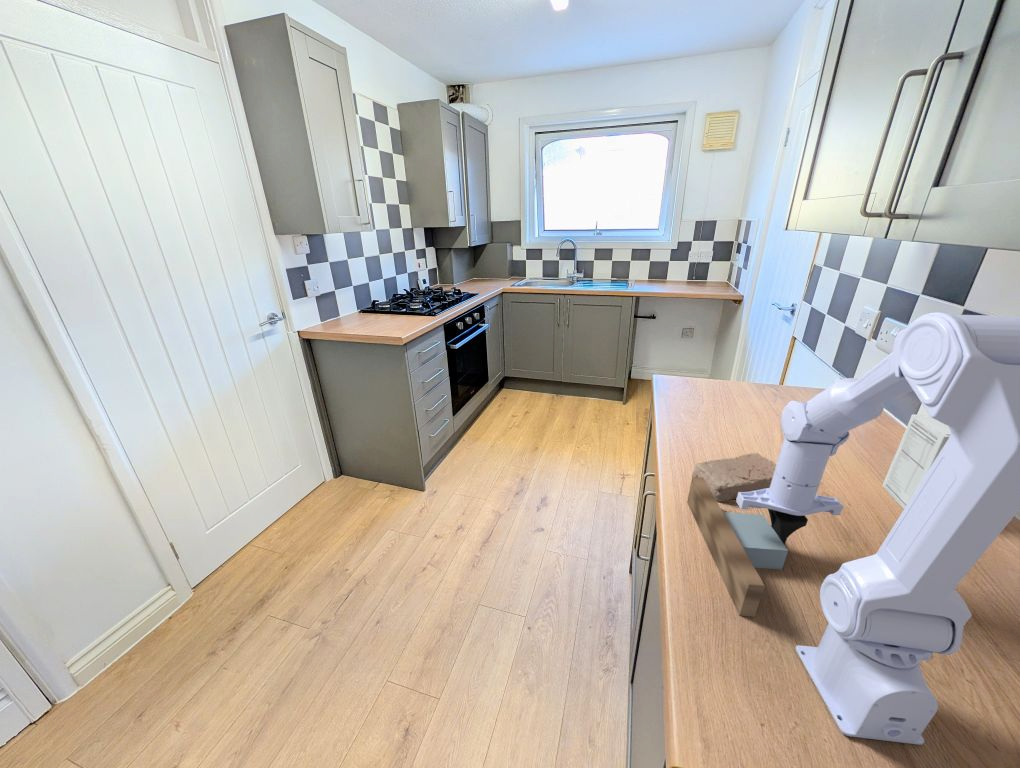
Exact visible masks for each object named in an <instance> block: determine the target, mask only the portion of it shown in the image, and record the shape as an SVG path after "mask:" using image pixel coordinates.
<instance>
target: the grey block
mask: <svg viewBox="0 0 1020 768" xmlns="http://www.w3.org/2000/svg"><path fill="white" fill-rule="evenodd" d="M722 512H723V513H724V515H725V517H726V519H727V520H728V522H729V524H730V526H731V527H732V529H733V531H734V533H735V534H736V536H737V538H738V540H739V542H740V543H741V545H742V547H743V549H744V550H745V552H746V554H747V556H748V557H749V559H750V561H751V563H752V564H753V566H754V568H755V569H756V568H758V569H759V568H760V569H770V570H781V571H782V569H783V568H784V564H785V562H786V558H787V555H788V554H789V553H788V552H789V550H788V548H787V547H786V544H785V545H784V544H783V542H782V541H781V539H780V538H779V536H778V535H777V534H776V532H775V531H774V529H773V528H772V526H771V525H772V524H770V522H769V521H768V519H767V518H766V517H765V515H764V514H756V513H743V512H742V513H739V512H724V511H722Z"/></svg>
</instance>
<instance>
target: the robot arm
mask: <svg viewBox="0 0 1020 768" xmlns="http://www.w3.org/2000/svg"><path fill="white" fill-rule="evenodd" d="M832 383H833V384H831V385H829V386H828V387H826V388H825V389H824V390H822V391H820V392H819V393H816V394H815V395H814V396H813V397H811V398H810V399H809V400H808V401H806V402H805V401H799V400H790V401H789V402H788V403H786V405H785V406H784V408H783V410H782V413H781V416H780V417H781V419H780V426H781V432H782V434H783V436H784V438H783V442H782V444H781V449H780V451H779V455H778V459H777V461H776V463H775V464H776V468H775V471H774V475H773V478H772V481H771V485H770V488H766V489H761V490H756V491H750V492H738V496H737V498H736V500H735V502H736V503H737V505H738V506H739V508H740V509H741V510H745V511H747V510H748V509H749V508H758V509H767V512H768V514H769V517H770V523H771V524H770V525H771V526H772V528H773V529H774V531H775V532H776V534H777V535H778V536H779V538H780V539H781V541H782V542H783V544H784V545H785V546H786V542H787V539H788V538H789V537H790V536H791V535H792V534H794V533H795V532H796V531H798V530H799V529H802V528H804V527H806V526H807V524H808V521H809V519H808V518H807V517H806V516H808V515H814V514H819V513H822V512H823V513H830V514H831V515H832V516H840V515H841V512H842V510H843V507H844V504H842V503H841V502H840V501H839V500H838V499H837V497H831V496H824V495H819V494H817V493H818V491H819V487H820V485H821V481H822V479H823V476H824V473H825V470H826V467H827V464H828V461H829V459H830V457H832V456H835V455H836V453H837V452H838V449H839V447H840V446H842V445H844V444H845V443H846V442H847V441H848V439H849V437H850V436H851V433H850V431H852V430H854V429H856V428H858V427H860V426H862V425H864V424H866V423H868V422H870V421H874V420H875V419H877V418H878V417H879V416H881V414H882V413H883V411H884V409H885V403H887V402H890V401H893V400H895V399H898V398H899V397H901V396H904V395H907V394H909V393H912V392H914V393H915V394H916V395H915V396H917V398H918V399H919V401H920V403H921V404H922V406H923V407H924V408H925V410H926V411H927V413H928V416H931V417H932V418H934V419H936V420H938V421H940V422H942V423H944V424H945V425H947V426H949V428H950V431H951V435H950V437H949V439H948V440H947V442H946V443H945V445H944V447H943V448H942V450H941V451H940V453H939V455H938V456H937V458H936V459H935V461H934V463H933V464H932V466H931V467H930V469H929V470H928V472H927V474H926V475H925V477H924V478H923V480H922V482H921V483H920V485H919V486H918V488H917V490H916V491H915V493H914V494H913V496H912V497H911V499H910V501H909V502H908V504H907V505H906V507H905V509H903V510H902V512H901V514H900V515H899V517H898V519H897V520H896V522H894V524H893V526H892V527H891V529H890V531H889V533H888V534H887V536H886V537H885V539H884V540H883V542H882V544H881V545H880V547H879V549H878V550H877V551H876V553H874V554H872V555H869V556H864V557H861V558H858V559H853V560H851V561H850V560H849V561H846V562H843V563H842V564H841V566H840V567H839V569H838V570H837V571H836V572H834V573H829V574H828V575H827V576H826V577H825V578H824V580H823V582H822V584H821V585H820V591H819V598H820V607H821V609H822V612H823V615H824V617H825V619H826V621H827V623H828V624H827V626H826V628H825V630H824V633H823V635H822V638H821V640H820V642H819V644H818V646H810V645H800V644H799V645H796V646H795V651H796V653H797V655H798V657H799V658H800V661H801V662H802V663H803V666H804V668H805V669H806V671H807V672H808V675H809V676H810V678H811V680H812V681H813V683H814V685H815V687H816V689H817V691H818V693H819V694H820V696H821V698H822V700H823V702H824V704H825V705H826V707H827V709H828V711H829V713H830V714H831V716H832V718H833V720H834V721H835V723H836V725H837V726H838V728H839V729H838V730H840V732H841V733H842V734H843V735H844V736H847V737H853V738H861V739H867V740H868V739H869V740H879V741H886V742H896V743H903V744H912V745H917V746H918V745H920V746H922V745H924V743H925V741H926V740H925V739H924V737H923V735H922V734H923V732H924V731H925V729H926V728H927V727H928V725H929V724H930V722H931V721H932V720H933V718H934V717H935V715H936V713H937V711H938V709H939V703H938V700H937V699H936V697H935V695H934V693H933V692H932V691H931V689H930V688H929V685H928V683H927V682H926V680H925V678H924V675H923V672H922V669H921V664H920V663H921V662H922V661H923V662H924V661H926V662H927V661H930V659H931V657H932V656H933V654H940V655H943V656H944V655H945V656H948V655H953V654H955V653H956V652H957V651H959V649H960V648H961V646H962V642H963V637H964V634H963V632H964V627H965V625H966V624H967V622H968V621H969V620H970V619H971V618H972V616H973V615H972V612H971V610H970V609H969V607H968V605H967V603H966V601H965V600H964V599H963V597H962V595H960V594H959V592H958V591H957V590H956V587H957V586H959V584H960V583H961V581H962V580H963V579H964V577H965V576H966V575H968V573H969V572H970V570H971V569H972V568H973V567H974V566H975V564H976V563H977V562H978V561H979V559H980V558H982V556H983V555H984V554H985V552H986V551H987V550H988V548H989V547H990V546H991V545H992V544H993V542H995V540H996V539H997V538H998V537H999V535H1000V534H1001V533H1002V532H1003V531H1004V529H1005V528H1006V527H1007V526H1008V524H1009V523H1010V522H1011V521H1012V520H1013V518H1014V517H1016V514H1017V513H1019V511H1020V315H990V314H989V315H988V314H987V315H986V314H985V315H984V314H983V315H982V314H981V315H979V314H953V313H949V312H948V313H947V312H942V311H941V312H940V311H937V312H936V311H935V312H930V313H929V312H928V313H925V314H924V315H921V316H919V317H917V318H916V319H915V320H913V321H912V322H911V323H910V324H909V325H908V326H907V327H906V328H904V329H902V330H900V331H898V332H897V334H896V336H895V339H894V342H893V347H892V352H890V353H889V354H888V355H887V356H885V357H884V358H883V359H882V360H880V361H879V362H878V363H877V364H875V365H874V366H873V367H872V368H870V369H869V370H867V371H866V372H864V374H863V375H861V376H860V377H859V378H855V377H837V378H836V379H835V380H833V381H832Z"/></svg>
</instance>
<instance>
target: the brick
mask: <svg viewBox="0 0 1020 768" xmlns="http://www.w3.org/2000/svg"><path fill="white" fill-rule="evenodd" d="M776 464H777V463H775V462H773V461H772V460H769V459H768V458H766V457H764V456H762V455H761V454H759V452H756V453H753V452H752V453H746V454H743V455H739V456H735V457H729V458H721V459H715V460H708V461H703V462H697V463H696V464H695V467H694V469H693V471H692V474H691V478H692V477H701V478H704V480H705V482H706V483H707V485H708V487H709V489H710V490H711V492H712V494H713V496H714V498H715V499H716V501H717V503H721V502H728V501H731V500H733V499H737V496H738V492H750V491H756V490H761V489H766V488H770V485H771V481H772V478H773V475H774V471H775V468H776Z"/></svg>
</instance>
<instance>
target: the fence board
mask: <svg viewBox="0 0 1020 768" xmlns="http://www.w3.org/2000/svg"><path fill="white" fill-rule="evenodd" d="M686 503H687V505H688V507H689V509H690V511H691V514H692V516H693V518H694V520H695V522H696V525H697V527H698V529H699V532H700V533H701V536H702V537H703V540H704V542H705V544H706V546H707V549H708V551H709V553H710V555H711V557H712V560H713V562H714V564H715V565H716V568H717V570H718V572H719V575H720V576H721V578H722V581H723V583H724V585H725V587H726V589H727V592H728V593H729V596H730V598H731V600H732V603H733V604H734V607H735V609H736V611H737V613H738V615H739V616H743V617H753V618H754V617H755V616H756V614H757V610H758V607H759V604H760V601H761V598H762V595H763V592H764V589H765V583H764V582H763V580H762V579H761V577H760V575H759V573H758V572H757V570H756V567H754V566H753V564H752V563H751V561H750V559H749V557H748V556H747V554H746V552H745V550H744V549H743V547H742V545H741V543H740V542H739V540H738V538H737V536H736V534H735V533H734V531H733V529H732V527H731V526H730V524H729V522H728V520H727V519H726V517H725V515H724V513H723V512H724V511H723V510H722V508H721V507H720V505H719V502H717V501H716V499H715V498H714V496H713V494H712V492H711V490H710V489H709V487H708V485H707V483H706V482H705V480H704V478H701V477H692V476H691V482H690V486H689V492H688V496H687V500H686Z"/></svg>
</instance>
